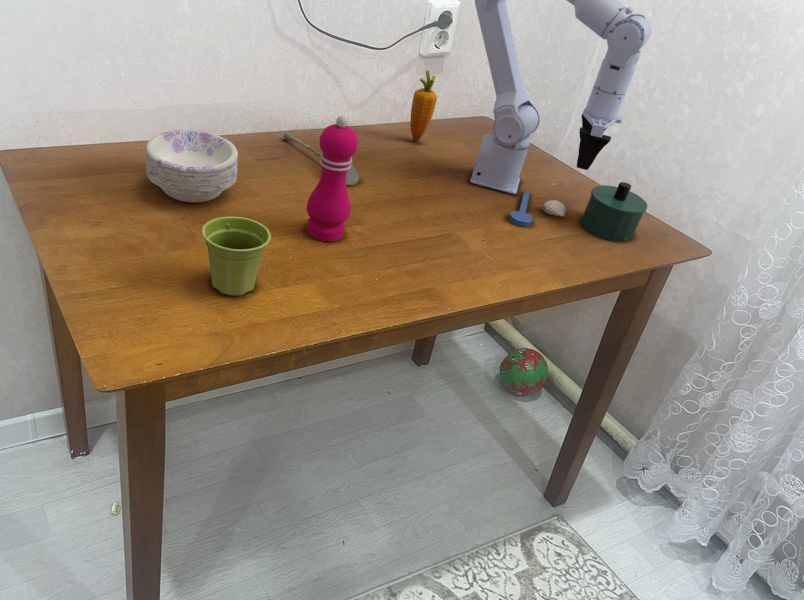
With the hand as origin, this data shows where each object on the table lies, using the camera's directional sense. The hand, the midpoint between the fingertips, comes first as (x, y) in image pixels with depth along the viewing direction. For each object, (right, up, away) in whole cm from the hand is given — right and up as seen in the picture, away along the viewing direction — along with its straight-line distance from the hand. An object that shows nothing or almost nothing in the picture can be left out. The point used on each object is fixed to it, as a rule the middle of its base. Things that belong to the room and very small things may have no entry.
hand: (582, 161), depth 135 cm
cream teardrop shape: (-5, -10, +3) cm, 11 cm away
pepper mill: (-49, -16, -15) cm, 53 cm away
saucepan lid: (+6, -8, -1) cm, 10 cm away
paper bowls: (-72, -8, -11) cm, 73 cm away
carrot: (-29, +10, +22) cm, 38 cm away
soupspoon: (-50, +1, +6) cm, 51 cm away
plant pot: (-62, -26, -31) cm, 74 cm away
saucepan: (+5, -12, +2) cm, 14 cm away
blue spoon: (-10, -8, +3) cm, 14 cm away
